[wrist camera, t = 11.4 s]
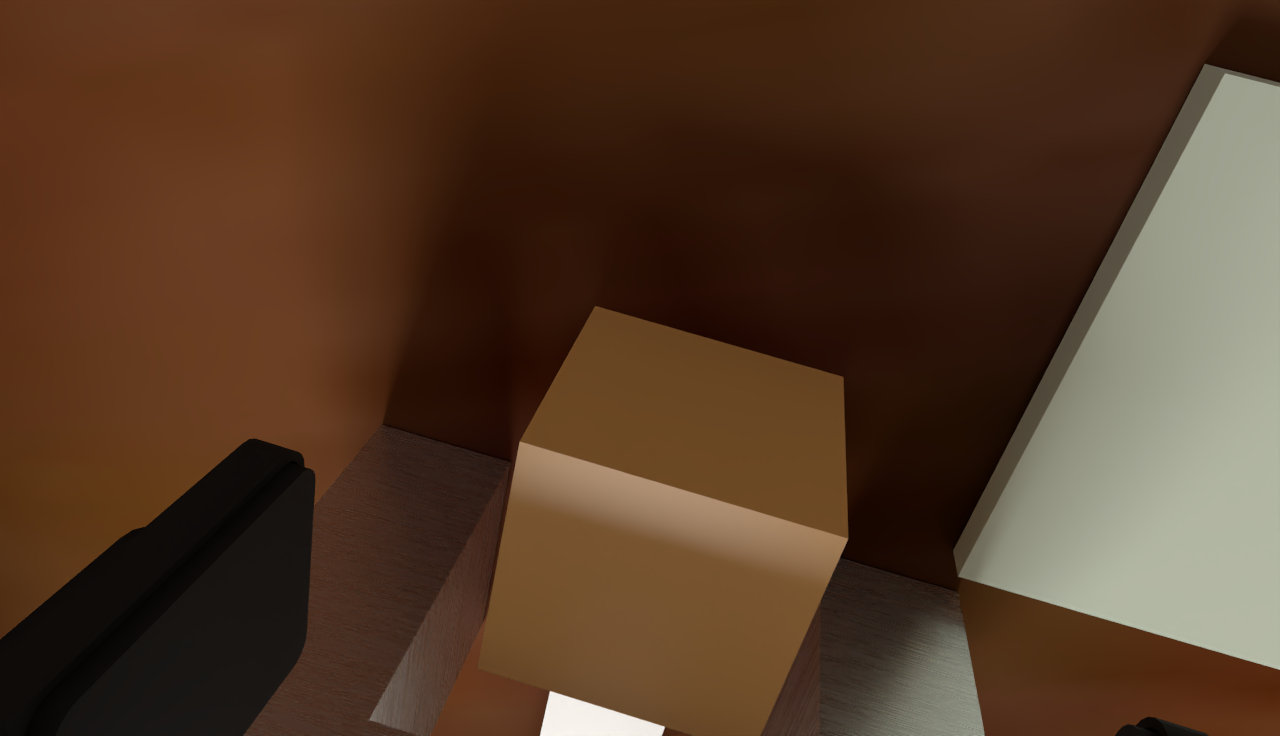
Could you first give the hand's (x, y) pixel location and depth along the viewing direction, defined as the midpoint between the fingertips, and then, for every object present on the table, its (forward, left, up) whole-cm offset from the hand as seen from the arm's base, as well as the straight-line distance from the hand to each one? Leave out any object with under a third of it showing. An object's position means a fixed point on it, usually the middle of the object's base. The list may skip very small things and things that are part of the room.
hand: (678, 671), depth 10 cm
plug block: (+2, 0, -8) cm, 9 cm away
